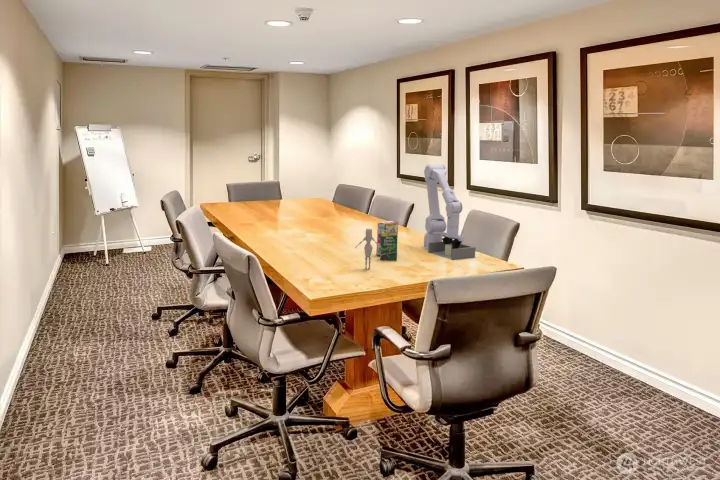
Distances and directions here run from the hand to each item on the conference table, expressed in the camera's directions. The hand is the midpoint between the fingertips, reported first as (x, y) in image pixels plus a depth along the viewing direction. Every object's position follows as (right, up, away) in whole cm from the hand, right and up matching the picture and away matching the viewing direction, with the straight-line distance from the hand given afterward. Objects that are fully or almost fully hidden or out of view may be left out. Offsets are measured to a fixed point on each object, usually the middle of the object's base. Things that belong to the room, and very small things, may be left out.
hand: (451, 253), depth 277 cm
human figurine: (-42, -6, -32) cm, 53 cm away
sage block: (0, -1, 0) cm, 1 cm away
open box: (0, -2, 0) cm, 2 cm away
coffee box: (-32, -3, -13) cm, 34 cm away
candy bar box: (-32, -1, -1) cm, 32 cm away
